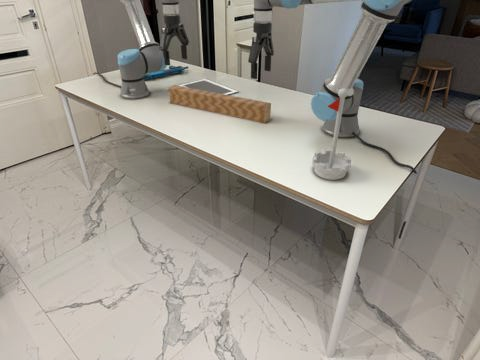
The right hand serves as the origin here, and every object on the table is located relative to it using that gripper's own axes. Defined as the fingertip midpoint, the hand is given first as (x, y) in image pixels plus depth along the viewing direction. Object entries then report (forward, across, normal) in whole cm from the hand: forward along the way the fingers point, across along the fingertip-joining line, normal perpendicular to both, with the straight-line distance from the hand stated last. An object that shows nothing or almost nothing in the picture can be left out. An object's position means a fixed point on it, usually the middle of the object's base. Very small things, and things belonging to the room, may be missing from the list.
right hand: (261, 74), depth 149 cm
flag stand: (+21, +31, +43) cm, 57 cm away
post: (+21, 0, -24) cm, 32 cm away
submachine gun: (+21, -38, -91) cm, 101 cm away
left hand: (0, 0, -47) cm, 47 cm away
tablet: (+21, -26, -46) cm, 57 cm away
